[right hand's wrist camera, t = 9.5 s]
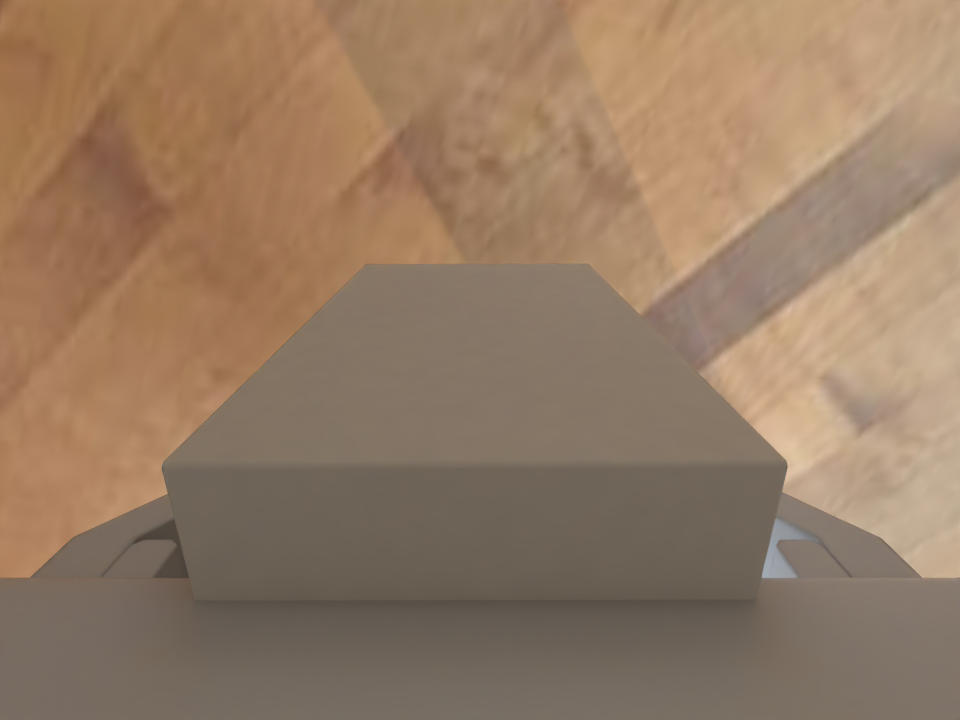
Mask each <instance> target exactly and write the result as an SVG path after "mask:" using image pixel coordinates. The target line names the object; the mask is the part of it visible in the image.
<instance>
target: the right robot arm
mask: <svg viewBox="0 0 960 720" xmlns="http://www.w3.org/2000/svg"><path fill="white" fill-rule="evenodd" d="M0 720H960V578H922V577H921V576H920V575H919V574H918V573H917V572H916V571H915V570H914V569H913V568H912V567H911V566H909V565H908V564H907V563H906V562H905V561H904V560H903V559H902V558H901V557H900V556H899V555H898V554H897V553H896V552H895V551H894V550H893V549H892V548H891V547H890V546H889V545H888V544H887V543H886V542H885V541H883V540H882V539H881V538H880V537H877V536H875V535H873V534H871V533H869V532H867V531H864V530H862V529H860V528H858V527H856V526H854V525H852V524H849V523H847V522H845V521H843V520H841V519H839V518H836V517H834V516H832V515H830V514H828V513H826V512H823V511H821V510H819V509H817V508H815V507H813V506H811V505H808V504H806V503H804V502H802V501H800V500H798V499H795V498H793V497H791V496H789V495H787V494H785V493H783V492H782V493H781V497H780V501H779V505H778V510H777V514H776V518H775V522H774V526H773V531H772V535H771V539H770V543H769V547H768V552H767V556H766V560H765V564H764V569H763V573H762V577H761V581H760V585H759V590H758V594H757V598H756V599H753V600H244V601H198V600H195V599H194V596H193V592H192V588H191V584H190V580H189V576H188V572H187V568H186V564H185V560H184V556H183V552H182V548H181V544H180V540H179V536H178V532H177V528H176V524H175V520H174V516H173V512H172V508H171V504H170V500H169V496H168V494H167V495H165V496H162V497H160V498H158V499H156V500H154V501H151V502H149V503H147V504H145V505H143V506H141V507H138V508H136V509H134V510H132V511H130V512H127V513H125V514H123V515H121V516H119V517H117V518H114V519H112V520H110V521H108V522H106V523H103V524H101V525H99V526H97V527H95V528H92V529H90V530H88V531H86V532H84V533H82V534H79V535H77V536H75V537H73V538H72V539H71V540H70V541H69V542H68V543H66V544H65V545H64V546H63V547H62V548H61V549H60V550H59V551H58V552H57V553H56V554H55V555H54V556H53V557H52V558H51V559H49V560H48V561H47V562H46V563H45V564H44V565H43V566H42V567H41V568H40V569H39V570H38V571H37V572H36V573H35V574H33V575H32V576H31V577H30V578H0Z"/></svg>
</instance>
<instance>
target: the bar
mask: <svg viewBox="0 0 960 720" xmlns="http://www.w3.org/2000/svg"><path fill="white" fill-rule="evenodd" d="M162 472H163V476H164V480H165V484H166V488H167V492H168V496H169V500H170V504H171V508H172V512H173V516H174V520H175V524H176V528H177V532H178V536H179V540H180V544H181V548H182V552H183V556H184V560H185V564H186V568H187V572H188V576H189V580H190V584H191V588H192V592H193V596H194V599H195V600H198V601H244V600H753V599H756V598H757V594H758V590H759V585H760V581H761V577H762V573H763V569H764V564H765V560H766V556H767V552H768V547H769V543H770V539H771V535H772V531H773V526H774V522H775V518H776V514H777V510H778V505H779V501H780V497H781V493H782V489H783V484H784V480H785V476H786V472H787V462H786V460H785V459H784V458H783V457H782V456H781V455H780V454H779V453H778V452H777V451H776V450H775V449H774V448H773V447H772V446H771V445H770V444H769V443H768V442H767V441H766V440H765V439H764V438H763V437H762V436H761V435H760V434H759V433H758V432H757V431H756V430H755V429H754V428H753V427H752V426H751V425H750V424H749V423H748V422H747V421H746V420H745V419H744V418H743V417H742V416H741V415H740V414H739V413H738V412H737V411H736V410H735V409H734V408H733V407H732V406H731V405H730V404H729V403H728V402H727V401H726V400H725V399H724V398H723V397H722V396H721V395H720V394H719V393H718V392H717V391H716V390H715V389H714V388H713V387H712V386H711V385H710V384H709V383H708V382H707V381H706V380H705V379H704V378H703V377H702V376H701V375H700V374H699V373H698V372H697V371H696V370H695V369H694V368H693V367H692V366H691V365H690V364H689V363H688V362H687V361H686V360H685V359H684V358H683V357H682V356H681V355H680V354H679V353H678V352H677V351H676V350H675V349H674V348H673V347H672V346H671V345H670V344H669V343H668V342H667V341H666V340H665V339H664V338H663V337H662V336H661V335H660V334H659V333H658V332H657V331H656V330H655V329H654V328H653V327H652V326H651V325H650V324H649V323H648V322H646V321H645V320H644V319H643V318H642V317H641V316H640V315H639V314H638V313H637V312H636V311H635V310H634V309H633V308H632V307H631V306H630V305H629V304H628V303H627V302H626V301H625V300H624V299H623V298H622V297H621V296H620V295H619V294H618V293H617V292H616V291H615V290H614V289H613V288H612V287H611V286H610V285H609V284H608V283H607V282H606V281H605V280H604V279H603V278H602V277H601V276H600V275H599V274H598V273H597V272H596V271H595V270H594V269H593V268H592V267H591V266H590V265H589V264H367V265H365V266H364V267H363V268H362V269H361V270H360V271H359V272H358V273H357V274H356V275H355V276H354V277H353V278H352V279H350V280H349V281H348V282H347V283H346V284H345V285H344V286H343V287H342V288H341V289H340V290H339V291H338V292H337V293H336V294H335V295H334V296H333V297H332V298H331V299H330V300H329V301H328V302H327V303H326V304H325V305H324V306H323V307H322V308H321V309H320V310H319V311H318V312H317V313H316V314H315V315H314V316H313V317H312V318H311V319H310V320H308V321H307V322H306V323H305V324H304V325H303V326H302V327H301V328H300V329H299V330H298V331H297V332H296V333H295V334H294V335H293V336H292V337H291V338H290V339H289V340H288V341H287V342H286V343H285V344H284V345H283V346H282V347H281V348H280V349H279V350H278V351H277V352H276V353H275V354H274V355H273V356H272V357H271V358H270V359H269V360H268V361H266V362H265V363H264V364H263V365H262V366H261V367H260V368H259V369H258V370H257V371H256V372H255V373H254V374H253V375H252V376H251V377H250V378H249V379H248V380H247V381H246V382H245V383H244V384H243V385H242V386H241V387H240V388H239V389H238V390H237V391H236V392H235V393H234V394H233V395H232V396H231V397H230V398H229V399H228V400H227V401H225V402H224V403H223V404H222V405H221V406H220V407H219V408H218V409H217V410H216V411H215V412H214V413H213V414H212V415H211V416H210V417H209V418H208V419H207V420H206V421H205V422H204V423H203V424H202V425H201V426H200V427H199V428H198V429H197V430H196V431H195V432H194V433H193V434H192V435H191V436H190V437H189V438H188V439H187V440H186V441H185V442H183V443H182V444H181V445H180V446H179V447H178V448H177V449H176V450H175V451H174V452H173V453H172V454H171V455H170V456H169V457H168V458H167V459H166V460H165V461H164V462H163V465H162Z"/></svg>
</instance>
